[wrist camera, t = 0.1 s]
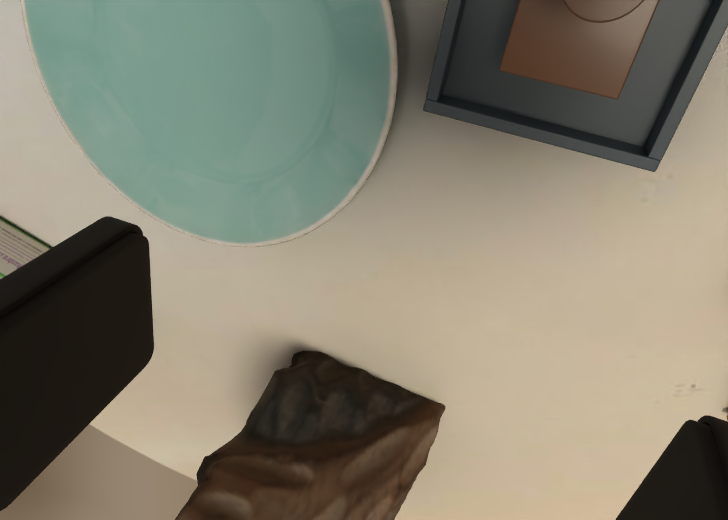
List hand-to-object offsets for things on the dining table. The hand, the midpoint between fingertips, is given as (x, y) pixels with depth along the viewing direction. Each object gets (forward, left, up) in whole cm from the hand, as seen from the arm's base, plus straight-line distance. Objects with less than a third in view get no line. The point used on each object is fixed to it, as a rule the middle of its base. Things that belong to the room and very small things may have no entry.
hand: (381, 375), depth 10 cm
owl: (+26, -3, -22) cm, 34 cm away
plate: (+2, -16, -22) cm, 27 cm away
